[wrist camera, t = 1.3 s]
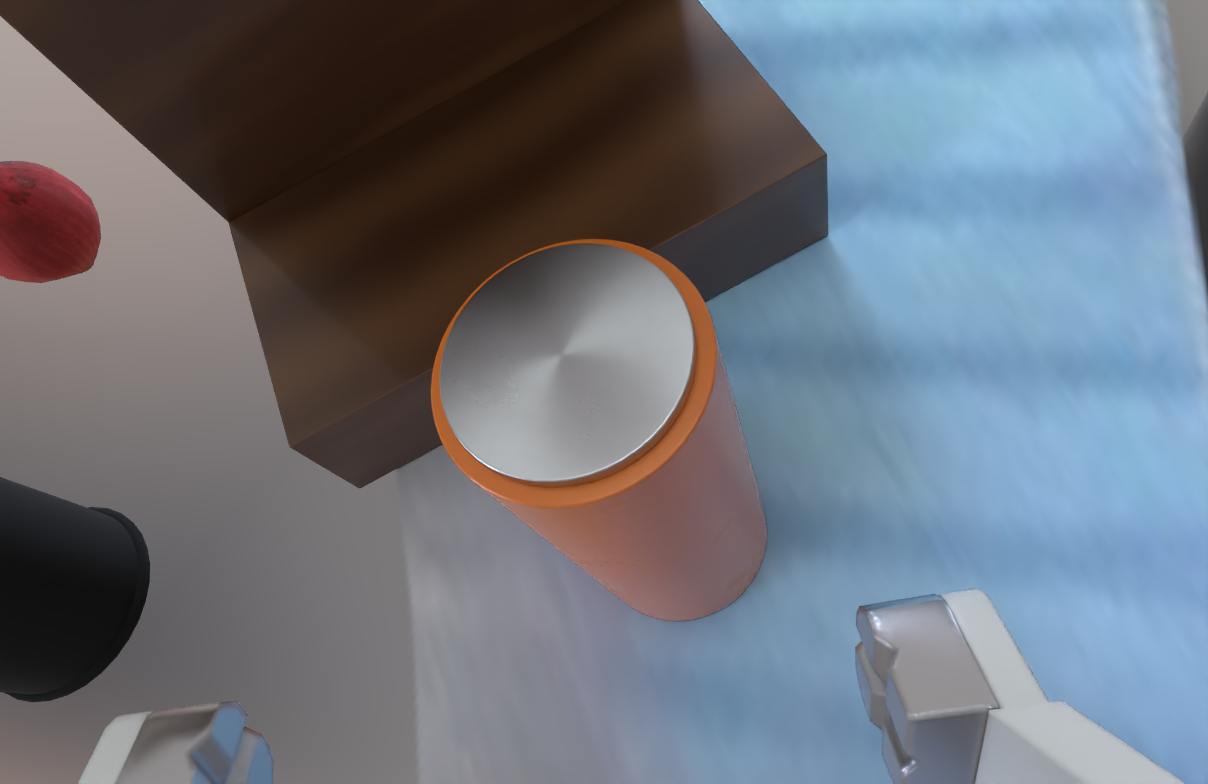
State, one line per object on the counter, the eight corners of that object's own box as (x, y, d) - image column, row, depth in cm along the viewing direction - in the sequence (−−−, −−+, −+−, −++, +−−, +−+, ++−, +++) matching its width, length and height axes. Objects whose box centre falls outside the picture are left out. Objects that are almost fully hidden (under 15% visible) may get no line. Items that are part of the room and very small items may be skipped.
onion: (99, 205, 46) (-34, 103, 39) (155, 242, 43) (24, 140, 36) (25, 285, 45) (-126, 194, 38) (79, 328, 42) (-73, 239, 35)
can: (775, 456, 30) (731, 227, 17) (757, 633, 28) (691, 517, 15) (609, 443, 32) (461, 227, 19) (579, 608, 30) (387, 486, 17)
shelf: (828, 235, 33) (816, -746, 12) (359, 489, 34) (-467, 0, 12) (684, 51, 39) (504, -812, 18) (290, 268, 40) (-340, -313, 19)
